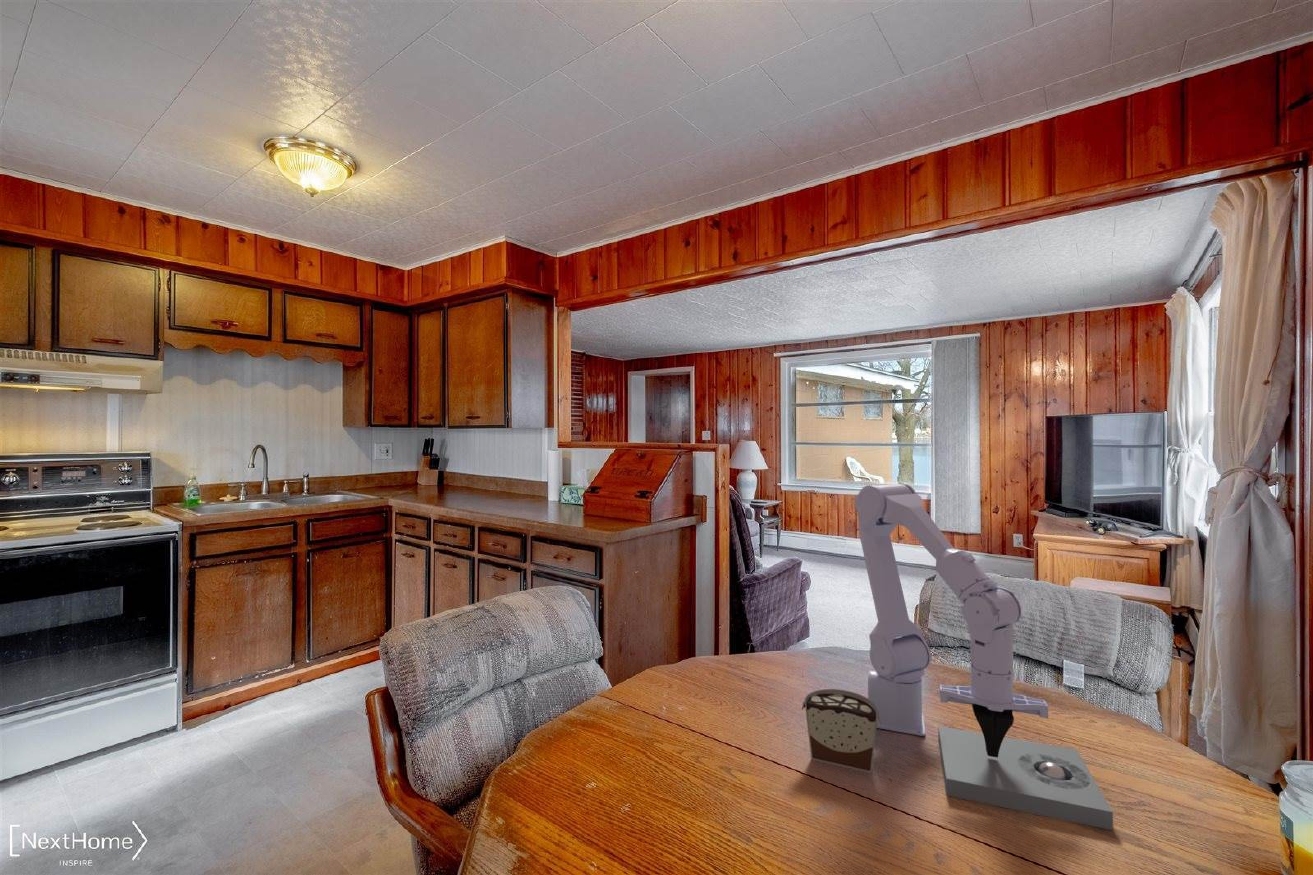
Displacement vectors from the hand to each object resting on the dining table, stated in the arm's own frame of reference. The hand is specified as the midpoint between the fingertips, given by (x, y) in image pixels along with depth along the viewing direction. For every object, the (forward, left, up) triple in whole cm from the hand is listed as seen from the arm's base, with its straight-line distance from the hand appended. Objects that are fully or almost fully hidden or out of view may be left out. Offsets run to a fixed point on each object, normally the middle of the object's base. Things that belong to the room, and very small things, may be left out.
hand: (991, 753), depth 88 cm
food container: (-22, -3, -4) cm, 23 cm away
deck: (+3, 0, -3) cm, 5 cm away
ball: (+8, 0, -2) cm, 8 cm away
